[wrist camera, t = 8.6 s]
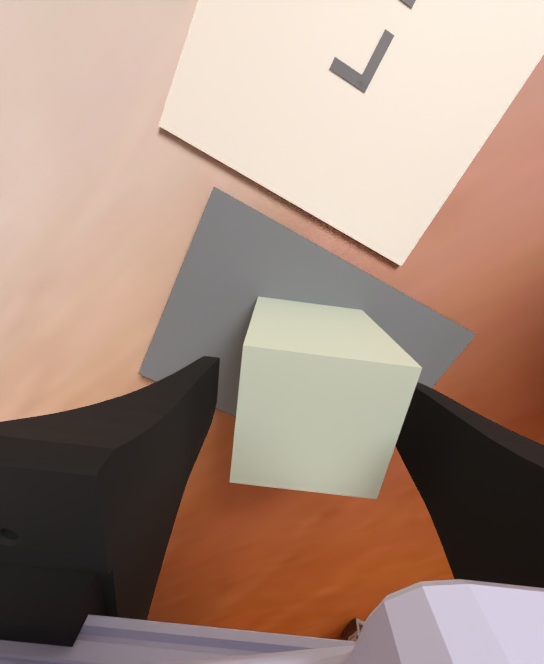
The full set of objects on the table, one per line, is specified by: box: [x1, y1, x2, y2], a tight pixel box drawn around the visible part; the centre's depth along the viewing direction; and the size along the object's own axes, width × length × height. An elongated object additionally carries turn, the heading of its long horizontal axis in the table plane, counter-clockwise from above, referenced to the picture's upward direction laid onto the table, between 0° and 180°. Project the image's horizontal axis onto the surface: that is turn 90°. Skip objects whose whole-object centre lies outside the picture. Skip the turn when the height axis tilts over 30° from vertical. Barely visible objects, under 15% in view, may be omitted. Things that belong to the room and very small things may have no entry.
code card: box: [158, 0, 544, 266], centre depth 10 cm, size 12×14×1 cm
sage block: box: [230, 297, 422, 499], centre depth 11 cm, size 5×5×6 cm
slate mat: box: [139, 187, 476, 417], centre depth 15 cm, size 14×10×1 cm
